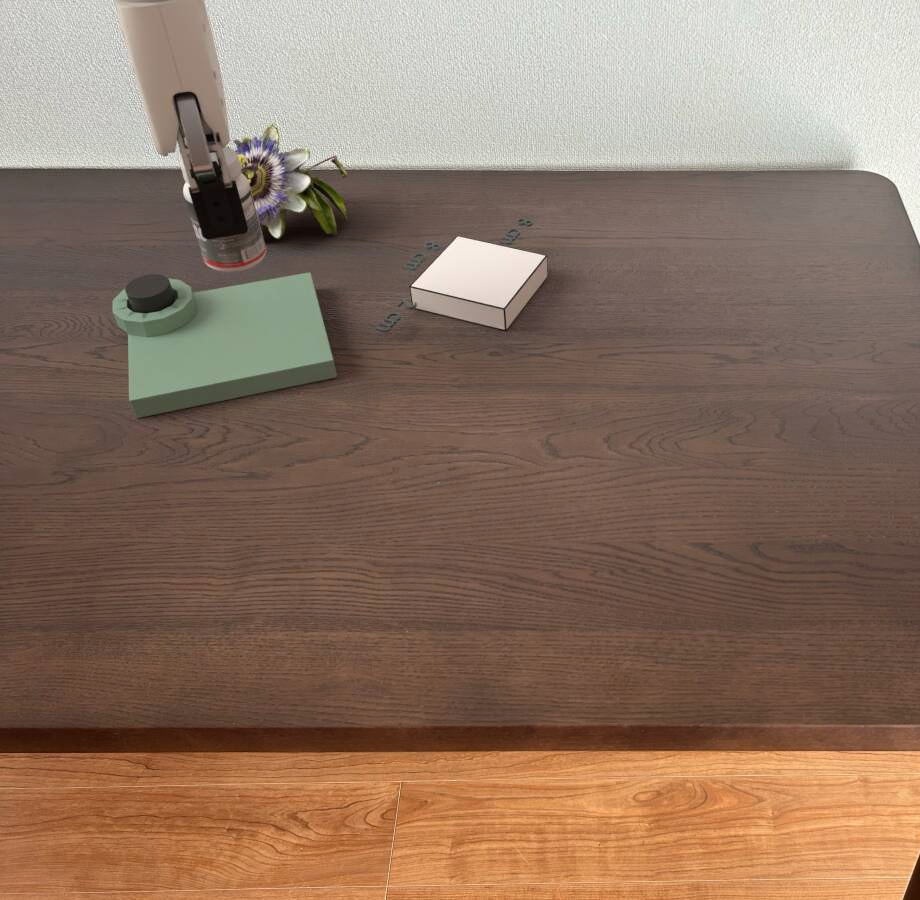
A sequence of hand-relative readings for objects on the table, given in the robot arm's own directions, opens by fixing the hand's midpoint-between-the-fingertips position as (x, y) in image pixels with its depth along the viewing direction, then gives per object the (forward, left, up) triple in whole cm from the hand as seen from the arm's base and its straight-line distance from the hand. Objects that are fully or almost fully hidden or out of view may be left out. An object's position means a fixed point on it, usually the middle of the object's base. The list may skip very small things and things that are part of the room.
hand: (223, 214), depth 73 cm
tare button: (-8, +7, -11) cm, 16 cm away
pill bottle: (0, 0, -4) cm, 4 cm away
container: (+20, +5, -14) cm, 25 cm away
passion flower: (+5, +23, -14) cm, 28 cm away
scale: (-2, +3, -14) cm, 15 cm away
